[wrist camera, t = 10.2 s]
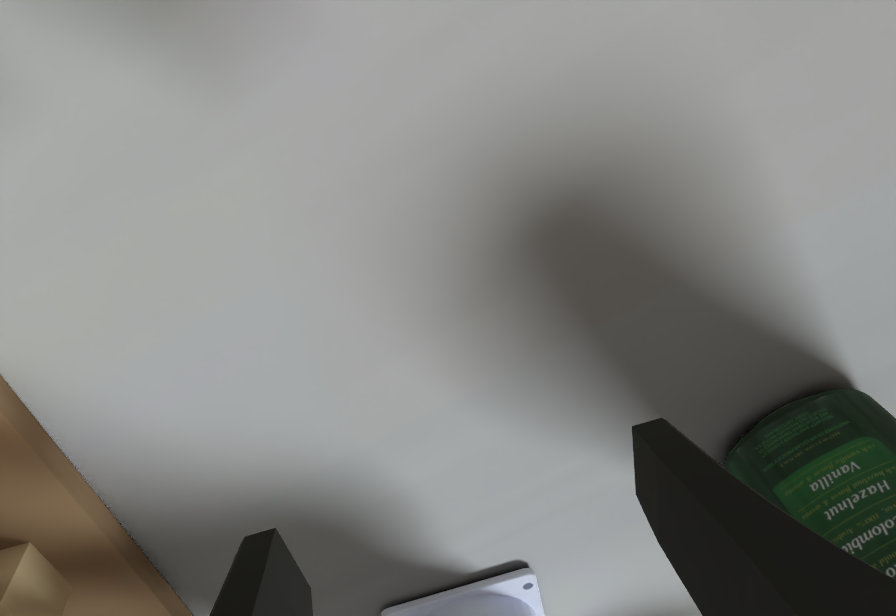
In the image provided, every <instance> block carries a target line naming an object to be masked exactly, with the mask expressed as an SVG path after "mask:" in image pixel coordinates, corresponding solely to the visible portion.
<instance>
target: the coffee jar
mask: <svg viewBox="0 0 896 616" xmlns="http://www.w3.org/2000/svg"><path fill="white" fill-rule="evenodd" d="M725 469H727V470H728V471H729V472H731V473H732V474H733V475H735V476H736V477H737V478H739V479H740V480H741V481H743V482H744V483H745V484H747V485H748V486H750V487H751V488H752V489H754V490H755V491H756V492H758V493H759V494H760V495H762V496H763V497H765V498H766V499H767V500H769V501H770V502H772V503H773V504H775V505H776V506H777V507H779V508H780V509H782V510H783V511H785V512H786V513H788V514H789V515H791V516H792V517H794V518H795V519H797V520H798V521H800V522H801V523H803V524H804V525H806V526H807V527H809V528H810V529H812V530H813V531H815V532H816V533H818V534H819V535H821V536H823V537H824V538H826V539H827V540H829V541H830V542H832V543H834V544H835V545H837V546H839V547H840V548H842V549H844V550H845V551H847V552H849V553H850V554H852V555H854V556H855V557H857V558H859V559H861V560H862V561H864V562H866V563H867V564H869V565H871V566H872V567H874V568H876V569H878V570H880V571H881V572H883V573H885V574H887V575H889V576H890V577H892V578H894V579H896V419H895V418H894V417H893V416H892V415H891V414H890V413H889V412H888V411H886V410H885V409H884V408H883V407H882V406H881V405H879V404H878V403H877V402H876V401H875V400H874V399H872V398H871V397H870V396H869V395H867V394H865V393H863V392H861V391H857V390H854V389H835V390H829V391H825V392H822V393H819V394H816V395H812V396H808V397H804V398H802V399H799V400H797V401H794V402H792V403H789V404H787V405H785V406H783V407H781V408H779V409H777V410H776V411H774V412H773V413H771V414H770V415H768V416H767V417H765V418H764V419H762V420H761V421H760V422H759V423H758V424H757V425H756V426H755V427H754V428H753V429H752V430H751V431H749V432H748V433H747V434H746V435H745V436H744V437H743V438H742V439H741V440H740V441H739V442H738V443H737V444H736V445H735V447H734V448H733V449H732V450H731V451H730V452H729V454H728V456H727V458H726V463H725Z"/></svg>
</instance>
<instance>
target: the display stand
mask: <svg viewBox="0 0 896 616" xmlns="http://www.w3.org/2000/svg"><path fill="white" fill-rule="evenodd" d="M0 616H193V615H192V613H191V612H190V611H189V610H188V608H187V607H186V606H185V605H184V603H183V602H182V601H181V600H180V598H179V597H178V596H177V595H176V593H175V592H174V591H173V590H172V588H171V587H170V586H169V585H168V583H167V582H166V581H165V580H164V578H163V577H162V576H161V575H160V573H159V572H158V571H157V570H156V568H155V567H154V566H153V565H152V563H151V562H150V561H149V560H148V558H147V557H146V556H145V555H144V553H143V552H142V551H141V550H140V548H139V547H138V546H137V545H136V543H135V542H134V541H133V540H132V539H131V537H130V536H129V535H128V534H127V532H126V531H125V530H124V529H123V527H122V526H121V525H120V524H119V522H118V521H117V520H116V519H115V517H114V516H113V515H112V514H111V512H110V511H109V510H108V509H107V507H106V506H105V505H104V504H103V502H102V501H101V500H100V499H99V497H98V496H97V495H96V494H95V492H94V491H93V490H92V489H91V487H90V486H89V485H88V484H87V482H86V481H85V480H84V479H83V477H82V476H81V475H80V474H79V472H78V471H77V470H76V469H75V467H74V466H73V465H72V464H71V462H70V461H69V460H68V459H67V457H66V456H65V455H64V454H63V452H62V451H61V450H60V449H59V447H58V446H57V445H56V444H55V442H54V441H53V440H52V439H51V437H50V436H49V435H48V434H47V433H46V431H45V430H44V429H43V428H42V426H41V425H40V424H39V423H38V421H37V420H36V419H35V418H34V416H33V415H32V414H31V413H30V411H29V410H28V409H27V408H26V406H25V405H24V404H23V403H22V401H21V400H20V399H19V398H18V396H17V395H16V394H15V393H14V391H13V390H12V389H11V388H10V386H9V385H8V384H7V383H6V381H5V380H4V379H3V378H2V376H1V375H0Z"/></svg>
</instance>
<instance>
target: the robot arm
mask: <svg viewBox="0 0 896 616" xmlns="http://www.w3.org/2000/svg"><path fill="white" fill-rule="evenodd" d="M632 435H633V452H634V469H635V486H636V495H637V498H638V500H639V502H640V504H641V506H642V509H643V511H644V513H645V515H646V517H647V520H648V522H649V524H650V526H651V528H652V530H653V532H654V534H655V536H656V538H657V541H658V543H659V544H660V546H661V548H662V549H663V551H664V553H665V554H666V556H667V558H668V559H669V561H670V563H671V564H672V566H673V568H674V569H675V571H676V573H677V574H678V576H679V578H680V579H681V581H682V583H683V584H684V586H685V587H686V589H687V591H688V592H689V594H690V596H691V597H692V599H693V601H694V602H695V604H696V606H697V607H698V609H699V610H700V612H701V614H702V615H703V616H896V579H894V578H892V577H890V576H889V575H887V574H885V573H883V572H881V571H880V570H878V569H876V568H874V567H872V566H871V565H869V564H867V563H866V562H864V561H862V560H861V559H859V558H857V557H855V556H854V555H852V554H850V553H849V552H847V551H845V550H844V549H842V548H840V547H839V546H837V545H835V544H834V543H832V542H830V541H829V540H827V539H826V538H824V537H823V536H821V535H819V534H818V533H816V532H815V531H813V530H812V529H810V528H809V527H807V526H806V525H804V524H803V523H801V522H800V521H798V520H797V519H795V518H794V517H792V516H791V515H789V514H788V513H786V512H785V511H783V510H782V509H780V508H779V507H777V506H776V505H775V504H773V503H772V502H770V501H769V500H767V499H766V498H765V497H763V496H762V495H760V494H759V493H758V492H756V491H755V490H754V489H752V488H751V487H750V486H748V485H747V484H745V483H744V482H743V481H741V480H740V479H739V478H737V477H736V476H735V475H733V474H732V473H731V472H729V471H728V470H727V469H725V468H724V467H723V466H722V465H720V464H719V463H718V462H716V461H715V460H714V459H713V458H711V457H710V456H709V455H708V454H706V453H705V452H704V451H703V450H701V449H700V448H699V447H698V446H696V445H695V444H694V443H693V442H692V441H690V440H689V439H688V438H687V437H685V436H684V435H683V434H682V433H681V432H679V431H678V430H677V429H676V428H675V427H674V426H672V425H671V424H670V423H669V422H668V421H666V420H664V419H663V418H660V419H656V420H653V421H649V422H646V423H642V424H639V425H635V426H632ZM210 616H313V611H312V597H311V588H310V586H309V584H308V583H307V581H306V579H305V577H304V576H303V574H302V572H301V571H300V569H299V567H298V565H297V564H296V562H295V560H294V559H293V557H292V555H291V553H290V552H289V550H288V548H287V547H286V545H285V543H284V541H283V540H282V538H281V536H280V535H279V533H278V531H277V529H276V528H274V529H271V530H267V531H263V532H260V533H256V534H253V535H249V536H246V537H245V538H244V539H243V541H242V542H241V545H240V547H239V549H238V552H237V554H236V556H235V559H234V561H233V563H232V566H231V568H230V570H229V573H228V575H227V577H226V580H225V582H224V584H223V587H222V589H221V591H220V593H219V596H218V598H217V600H216V602H215V604H214V607H213V609H212V611H211V613H210ZM381 616H545V615H544V611H543V606H542V602H541V597H540V593H539V588H538V584H537V579H536V576H535V573H534V571H533V569H531V568H523V569H520V570H516V571H513V572H509V573H506V574H502V575H499V576H496V577H492V578H489V579H485V580H482V581H478V582H475V583H472V584H468V585H465V586H461V587H458V588H454V589H451V590H448V591H444V592H441V593H437V594H434V595H430V596H427V597H424V598H420V599H417V600H413V601H410V602H406V603H403V604H400V605H396V606H393V607H389V608H387V609H385V610H384V611H382V613H381Z"/></svg>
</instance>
